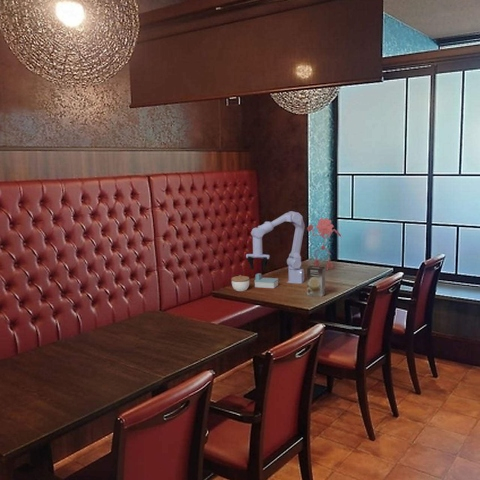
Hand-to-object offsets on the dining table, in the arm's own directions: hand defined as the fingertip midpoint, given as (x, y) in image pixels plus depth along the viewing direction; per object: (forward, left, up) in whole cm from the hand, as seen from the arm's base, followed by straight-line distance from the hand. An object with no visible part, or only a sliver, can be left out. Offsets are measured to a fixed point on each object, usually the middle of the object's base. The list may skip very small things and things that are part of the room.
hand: (258, 269), depth 319 cm
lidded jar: (+7, +12, -11) cm, 18 cm away
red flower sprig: (-27, -59, -11) cm, 66 cm away
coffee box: (-38, +9, -11) cm, 41 cm away
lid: (-5, 0, -7) cm, 9 cm away
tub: (-5, 0, -10) cm, 12 cm away
